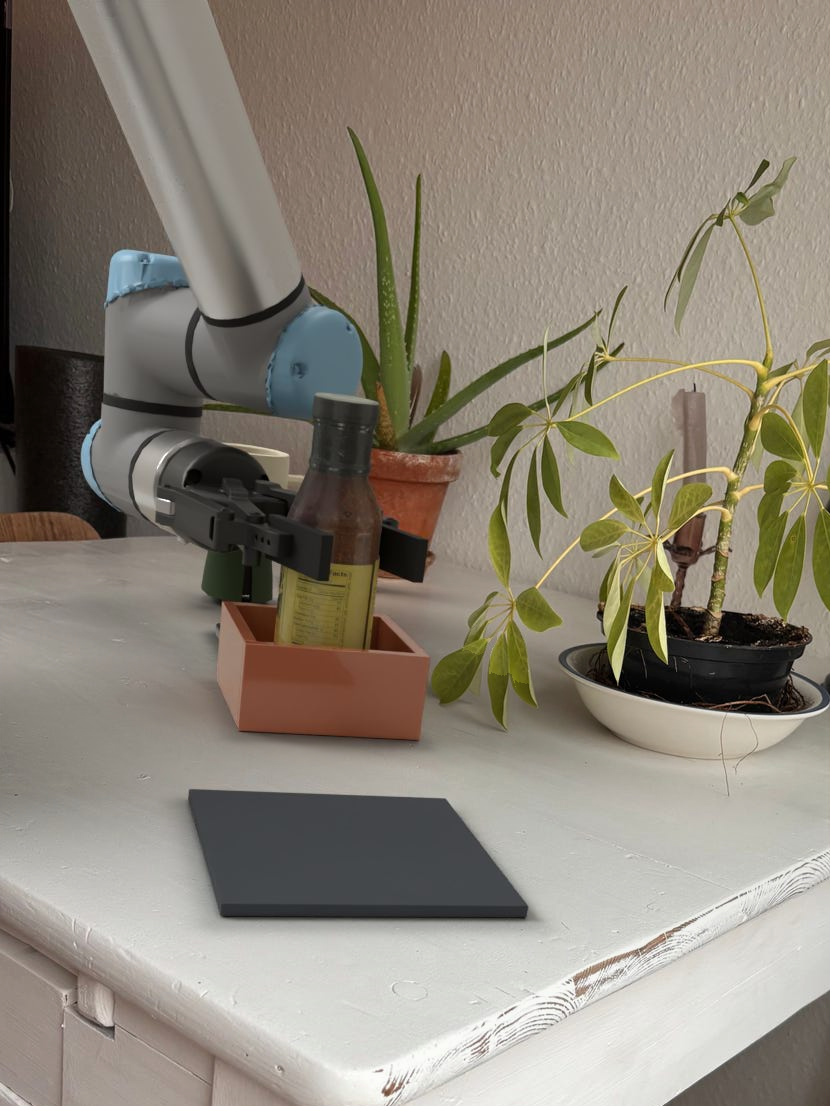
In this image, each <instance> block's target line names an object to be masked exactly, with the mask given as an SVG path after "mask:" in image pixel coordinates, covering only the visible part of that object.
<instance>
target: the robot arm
mask: <svg viewBox="0 0 830 1106" xmlns="http://www.w3.org/2000/svg"><path fill="white" fill-rule="evenodd" d="M66 2H67V4H68V6H69V8H70V11H71V13H72V16H73V18H74V20H75V23H76V25H77V27H78V29H79V32H80V34H81V37H82V39H83V42H84V44H85V46H86V48H87V50H88V53H89V55H90V58H91V60H92V63H93V65H94V67H95V69H96V71H97V74H98V76H99V79H100V82H101V84H102V85H103V88H104V90H105V92H106V95H107V97H108V100H109V102H110V105H111V106H112V107H111V108H112V109H113V111H114V114H115V116H116V119H117V120H118V123H119V125H120V128H121V130H122V132H123V134H124V135H123V136H124V137H125V139H126V142H127V144H128V146H129V148H130V151H131V153H132V156H133V158H134V160H135V163H136V165H137V167H138V170H139V172H140V175H141V177H142V179H143V182H144V184H145V186H146V189H147V191H148V193H149V195H150V198H151V200H152V202H153V205H154V207H155V210H156V212H157V215H158V216H159V219H160V221H161V224H162V226H163V228H164V231H165V232H166V235H167V238H168V239H169V243H170V245H171V247H172V250H173V251H174V254H175V256H173V255H166V254H161V253H152V252H149V251H141V250H135V249H121V250H119V251H117V252H115V253H114V254H113V256H112V257H111V259H110V262H109V272H108V281H107V290H106V291H107V292H106V299H105V301H104V303H103V311H104V312H105V315H104V316H105V321H104V361H103V362H104V363H103V366H104V367H103V393H102V394H103V396H102V402H101V411H100V412H101V413H100V419H98V421H96V422H95V423H94V424H93V425H92V426H91V427H90V429H89V431H88V432H87V434H86V436H85V437H84V440H83V442H82V445H81V450H80V462H81V463H80V464H81V469H82V473H83V476H84V479H85V480H86V482H87V484H88V485H89V487H90V488H91V490H93V492H94V493H95V494H96V495H97V496H98V497H99V498H101V499H102V500H103V501H105V502H106V503H108V504H109V506H111V507H112V508H114V509H116V511H118V512H119V513H123V514H125V515H126V516H128V517H133V518H136V519H137V520H138V519H139V520H141V521H143V522H145V523H148V524H150V525H153V526H154V527H157V528H158V529H159V528H160V529H162V530H163V531H167V532H168V533H170V534H172V535H174V536H177V537H176V539H177V542H178V543H179V545H180V544H181V545H183V546H184V545H188V544H189V543H190V544H192V545H194V546H196V547H199V548H201V549H202V550H205V551H207V552H208V551H210V552H215V553H232V552H236V551H239V550H242V551H243V560H242V564H243V565H246V566H252V567H260V566H261V561H262V552H263V553H266V556H265V558H267V559H269V560H271V561H272V562H274V563H276V564H279V565H280V566H281V565H283V566H285V567H287V568H290V569H292V570H294V571H296V572H299V573H301V574H303V575H305V576H308V577H310V578H312V579H314V580H317V581H329V576H330V566H331V557H332V547H333V538H334V536H333V535H331V534H328V533H325V532H323V531H320V530H318V529H315V528H312V527H310V526H307V525H305V524H302V523H300V522H297V521H294V520H292V519H289V518H287V515H288V513H289V511H290V509H291V506H292V504H293V502H294V499H295V497H296V495H297V492H296V490H295V491H294V490H291V489H288V488H287V489H283V488H282V487H281V486H280V484H278V483H274V482H270V480H269V478H268V476H267V474H266V472H265V470H264V468H263V467H262V465H261V464H260V463H259V462H258V461H257V460H256V459H255V458H254V457H253V456H252V455H250V454H249V453H247V452H245V451H243V450H241V449H238V448H235V447H232V446H229V445H226V444H223V443H224V442H220V441H217V440H216V439H213V438H210V437H207V436H203V435H201V430H202V429H201V428H202V417H203V410H204V400H210V401H215V402H220V403H225V404H230V405H235V406H238V407H243V408H247V409H251V410H255V411H258V412H264V413H268V414H271V415H274V416H275V417H277V418H281V419H282V418H283V419H297V420H306V421H314V420H313V416H312V406H313V400H314V395H315V394H316V393H331V394H340V395H349V396H354V397H355V395H356V394H357V391H358V389H359V386H360V383H361V380H362V379H361V378H362V374H363V366H364V365H363V364H364V356H363V355H364V354H363V347H362V341H361V339H360V335H359V333H358V331H357V328H356V327H355V325H354V324H353V323H351V322H350V320H349V319H348V318H347V317H346V316H345V315H344V314H343V313H342V312H340V311H338V310H336V309H331V308H330V307H328V306H326V305H325V304H320V303H318V304H315V303H314V302H313V299H312V296H311V293H310V289H309V287H308V284H307V282H306V278H305V277H304V275H303V272H302V267H301V264H300V261H299V258H298V255H297V253H296V250H295V246H294V244H293V242H292V238H291V235H290V233H289V230H288V228H287V227H288V226H287V225H286V222H285V218H284V215H283V212H282V210H281V207H280V205H279V202H278V199H277V195H276V193H275V189H274V187H273V184H272V181H271V179H270V176H269V173H268V171H267V167H266V165H265V162H264V158H263V156H262V153H261V149H260V148H259V147H260V146H259V145H258V141H257V139H256V136H255V133H254V130H253V127H252V124H251V122H250V118H249V116H248V113H247V110H246V107H245V105H244V101H243V99H242V96H241V93H240V90H239V88H238V84H237V81H236V78H235V76H234V73H233V70H232V68H231V65H230V61H229V59H228V56H227V52H226V50H225V47H224V45H223V42H222V39H221V35H220V34H219V30H218V28H217V25H216V22H215V18H214V16H213V14H212V10H211V8H210V5H209V1H208V0H66ZM380 509H381V514H382V530H381V537H380V547H379V556H380V562H379V571H383V572H386V573H388V574H390V575H393V576H395V577H397V578H400V579H403V580H406V581H408V582H411V583H412V584H423V583H424V578H425V571H426V563H427V555H428V549H429V548H428V547H429V539H428V538H425V537H422V536H419V535H417V534H414V533H411V532H408V531H406V530H402V529H400V528H399V525H400V521H399V519H395V517H392V516H385V515H384V509H383V508H380Z"/></svg>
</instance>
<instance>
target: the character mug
mask: <svg viewBox="0 0 830 1106" xmlns="http://www.w3.org/2000/svg"><path fill="white" fill-rule="evenodd" d="M222 443H223V444H226V445H229V446H232V447H235V448H238V449H241V450H243V451H245V452H247V453H249V454H250V455H252V456H253V457H254V458H255V459H256V460H257V461H258V462H259V463H260V464H261V465H262V467H263V468H264V470H265V472H266V474H267V476H268V478H269V480H270V482H274V483H278V484H280V486H281V487H282V488H283V489H287V490H288V487H294V488H295V492H298V490H299V488H300V486H301V483H302V481H303V479H304V477H303V476H299V475H300V474H289V473H290V465H291V464H290V463H291V461H290V459H291V458H290V454H289V453H286V452H283V451H280V450H278V449H277V450H276V449H272V448H267V447H261V446H256V445H250V444H243V443H235V442H234V443H233V442H222ZM265 556H266V553H263V552H262V561H261V566H260V567H252V566H246V565H243V564H242V560H243V551H242V550H239V551H236V552H232V553H215V552H210V551H208V550H207V553H206V558H205V563H204V566H203V567H204V568H203V573H202V579H201V585H200V588H201V591H203V592H204V593H205V594H206V595H207V596H208V597H210V598H214V599H217V600H218V601H230V602H243V601H242V599H243V596H248V601H249V603H254V604H265V603H268V602H271V601H273V596H274V595H273V593H274V591H273V589H274V581H273V580H274V576H273V561H271V560H269V559H267V558H265Z"/></svg>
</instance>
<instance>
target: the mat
mask: <svg viewBox="0 0 830 1106" xmlns="http://www.w3.org/2000/svg"><path fill="white" fill-rule="evenodd" d="M188 804H189V807H190V810H191V814H192V818H193V821H194V825H195V829H196V832H197V835H198V839H199V843H200V847H201V850H202V854H203V857H204V861H205V865H206V868H207V872H208V875H209V879H210V882H211V886H212V890H213V893H214V897H215V900H216V905H217V908H218V911H219V915H220V916H221V917H355V918H356V917H358V918H359V917H366V918H367V917H368V918H369V917H372V918H373V917H377V918H378V917H379V918H380V917H381V918H383V917H384V918H389V917H390V918H392V917H394V918H395V917H396V918H405V917H406V918H410V917H411V918H527V917H528V911H529V905H528V904H527V902H526V901H525V900H524V899H523V897H522V895H520V893H519V892H518V890H517V889H516V888H515V886H514V885H513V884H512V883H511V881H510V880H509V879H508V877H507V876H506V875H505V874H504V872H503V871H502V870H501V868H500V867H499V866H498V865H497V863H496V861H494V859H493V858H492V857H491V856H490V854H489V853H488V852H487V851H486V849H485V848H484V846H483V845H482V844H481V842H480V841H479V840H478V838H477V837H476V836H475V835H474V833H473V832H472V831H471V830H470V828H469V827H468V825H467V824H466V822H465V821H464V820H463V819H462V818H461V816H460V815H459V814H458V812H457V811H456V810H455V808H454V807H453V806H452V805H451V803H450V802H449V801H448V799H447V798H445V797H420V796H419V797H418V796H394V795H393V796H392V795H368V794H367V795H366V794H365V795H364V794H363V795H362V794H340V793H339V794H337V793H311V792H307V793H306V792H284V791H283V792H281V791H257V790H231V789H229V790H228V789H227V790H226V789H201V788H198V789H197V788H189V789H188Z"/></svg>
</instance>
